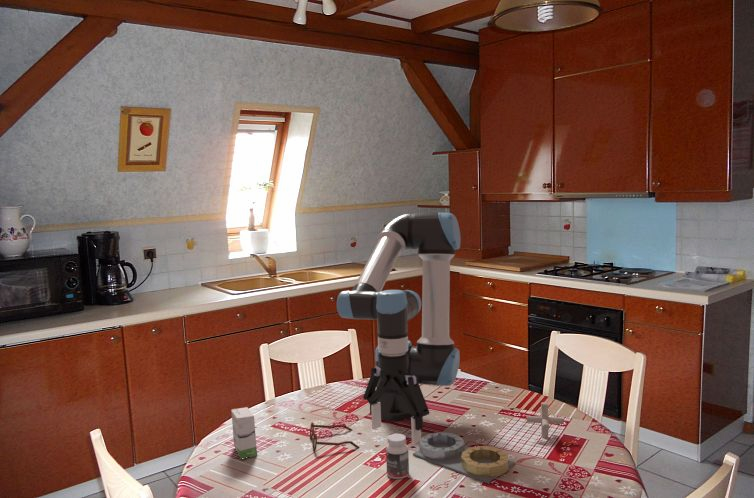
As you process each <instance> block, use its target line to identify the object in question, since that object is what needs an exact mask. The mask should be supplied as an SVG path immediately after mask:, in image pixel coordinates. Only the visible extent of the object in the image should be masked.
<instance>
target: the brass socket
mask: <svg viewBox="0 0 754 498" xmlns="http://www.w3.org/2000/svg"><path fill="white" fill-rule="evenodd" d="M470 447H471V448H468V449H467V450H465V451H463V452H462V456H461V467H462V468H463V469H464V470H465V471H466V472H467V473H470V474H473V475H475V476H482V477H493V476H497V477H500V476H502V475H503V474H505V473H506V472H508V471H509V469H508V460H509V454H507V453H506V451H504V450H503V449H500V448H497V447H494V446H487V445H478V446H473V447H472V446H470ZM481 458H484V459H492V460H495V461H497V462H494V463H489V464H486V463H478V462H475V461H473V460H476V459H481Z"/></svg>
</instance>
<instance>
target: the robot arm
mask: <svg viewBox="0 0 754 498" xmlns="http://www.w3.org/2000/svg"><path fill="white" fill-rule="evenodd" d="M461 237H462V236H461V230H460V226H459V221H458V219H457V217H456V216H455V215H454V214H453V213H451V212H443V211H442V212H439V211H438V212H418V213H417V212H416V213H415V212H411V213H410V212H407V213H403V214H401V215H399V216H396V217H395V218H393V219H392V220H391V221H388V223H386V224H385V225H384V226H383V228H382V229H381V230H380V232H379V233H378V235H377V237H376V239H375V243H376V244H375V247H374V248H373V251H372V252H371V254H370V256H369V258H368V260H367V262H366V263H365V266H364V268H363V269H362V271H361V273H360V275H359V276H358V279H357V280H356V281H355V284H354V286H353V288H351V290H349V289H348V290H343V291H340V293H338V296H337V298H336V311H337V313H338V315H339V317H341V318H343V319H352V320H376V322H377V323H376V324H377V347H376V348H375V351H374V353H375V359H374V361H375V362H374V363H375V364H374V365H375V366H374V367H372V368H370V378H369V380H368V381H367V385H366V388H365V391H364V393H363V396H362V397H363V400H364V401H367V403H368V404H369V413H370V416H371V430H376V429H378V428H381V427H382V421H385V422H387V421H388V422H400V421H402V422H403V421H408V420H410V425H411V428H410V429H411V430H410V431H411V443H412V445H413V444H414V445H415V444H418V443H419V442H420V441H421V438H422V430H423V428H424V421H423V419H424V418H423V417H425V416H428V415H429V414H430V410H429V407H428V404H427V402H426V399H425V397H424V393H423V391H422V389H421V385H427V386H428V385H430V386H437V387H440V386H443V387H447V386H448V387H450V386H451V385H453V384H454V382H455V381H456V379H457V376H458V371H459V366H460V360H461V359H460V358H461V357H460V356H461V355H460V350H459V348H456V347H455V342H454V340H453V339H452V338H451V337H450V308H451V307H450V303H451V302H450V296H451V294H450V293H451V289H450V286H451V285H450V283H451V277H450V275H451V270H450V269H451V260H453V258H454V257H455V256H456V250H459V249H460V248H461V242H462V241H461V239H462V238H461ZM407 250H417V256H418V257H419V258H420V259H421V260H422V293H421V294H422V295H421V296H422V297H420V295H419V293H417V292H415V291H413V290H410V289H405V290H401V289H385V290H383V288H384V286H385V284H386V282H387V280H388V278H389V276H390V274H391V271H392V269H393V268H394V266H395V264H396V261H397V260H398V257H400V256H401V255H403V253H404V252H405V251H407ZM421 309H422V310H421ZM420 311H421V317H422V318H421V337H420V338H419V339H417V341H416V346H414V345H413V346H412V342H411V340H409V336H408V335H409V333H408V332H409V331H408V322H409V321H411V320H412V319H414V318H415V317H416V316H417V315H418V314H419V312H420Z"/></svg>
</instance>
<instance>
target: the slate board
mask: <svg viewBox="0 0 754 498" xmlns="http://www.w3.org/2000/svg"><path fill="white" fill-rule="evenodd" d="M432 446H433V447H436V448H447V447H451V445H448V444H436V445H432ZM471 447H472V446H468V445H465V444H464V451H465V450H467V449H468V448H471ZM412 456H414V457H416V458H420V459H422V460H425V461H428V462H430V463H432V464H434V465H438V466H441V467H444V468H445V469H448V470H451V471H454V472H457V473H459V474H461V475H464V476H466V477H469V478H472V479H474V480H478V481H480V482H483V483H486V484H489V483H490V482H492V481H493V480H494V479H496V478H497V477H498V476H493V477H482V476H475V475H473V474H470V473H467V472H466V471H465V470H464V469H463V468H462V467H461V456H462V455H461V456H459V457H458V458H456V459H451V460H445V461H444V460H433V459H430V458H427V457H425V456H423V455H422V453H421V452H420V449H418V450H416V451H415V452H413V453H412ZM473 461H475V462H478V463H486V464H489V463H494V462H497V461H495V460H492V459H484V458H481V459H476V460H473ZM514 465H516V462H515V461H512V460H510V459H508V470H509V469H511V467H513V466H514Z"/></svg>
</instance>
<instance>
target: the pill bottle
mask: <svg viewBox="0 0 754 498" xmlns="http://www.w3.org/2000/svg"><path fill="white" fill-rule="evenodd" d="M406 437H407V436H406V435H405V434H403V433H392V434H390V435H388V436H387V445H386V446H385V454H386V455H385V457H386V458H385V461H386V475H387V476H388V477H389V478H390V479H392V480H393V479H394V480H401V479H404V478H405V479H406V477H408V476H409V473H410V464H409V463H410V462H409V460H410V458H409V446H408V444H407V443H406V442H407V438H406Z"/></svg>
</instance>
